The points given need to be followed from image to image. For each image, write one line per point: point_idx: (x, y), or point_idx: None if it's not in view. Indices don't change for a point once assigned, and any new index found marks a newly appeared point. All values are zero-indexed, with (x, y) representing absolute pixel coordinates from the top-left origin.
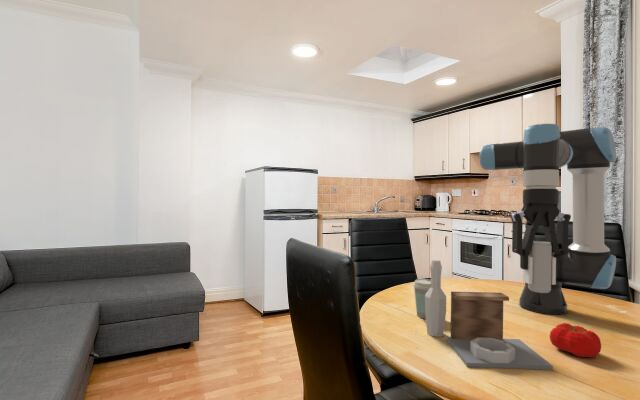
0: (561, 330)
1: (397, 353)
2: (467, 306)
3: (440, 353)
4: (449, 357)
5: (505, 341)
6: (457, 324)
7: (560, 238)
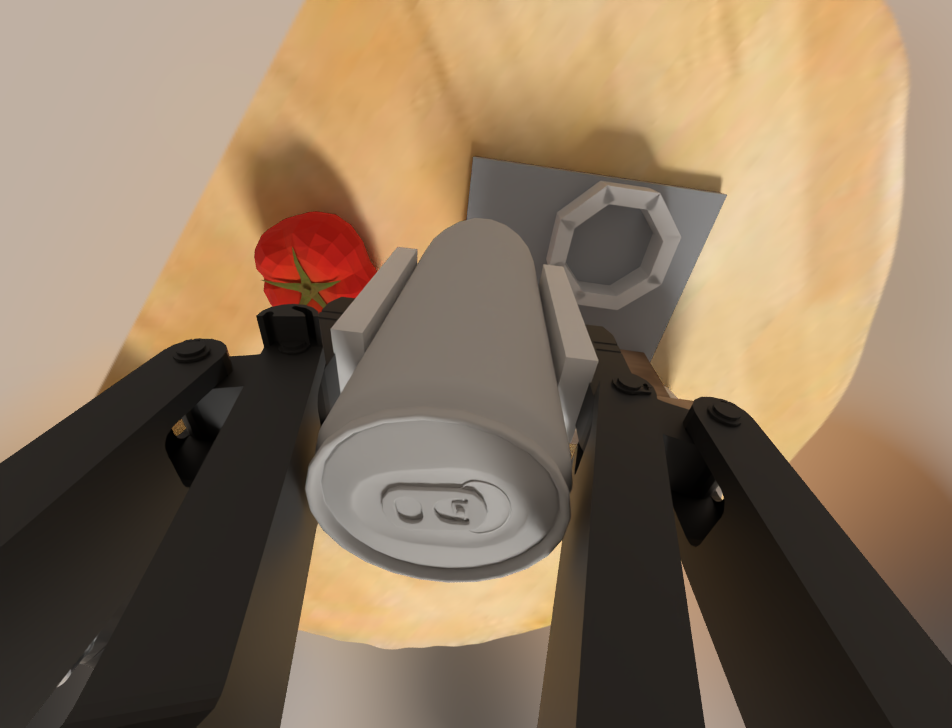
0: (354, 292)
1: (855, 292)
2: None
3: (728, 284)
4: (722, 257)
5: None
6: (642, 373)
7: (104, 527)
